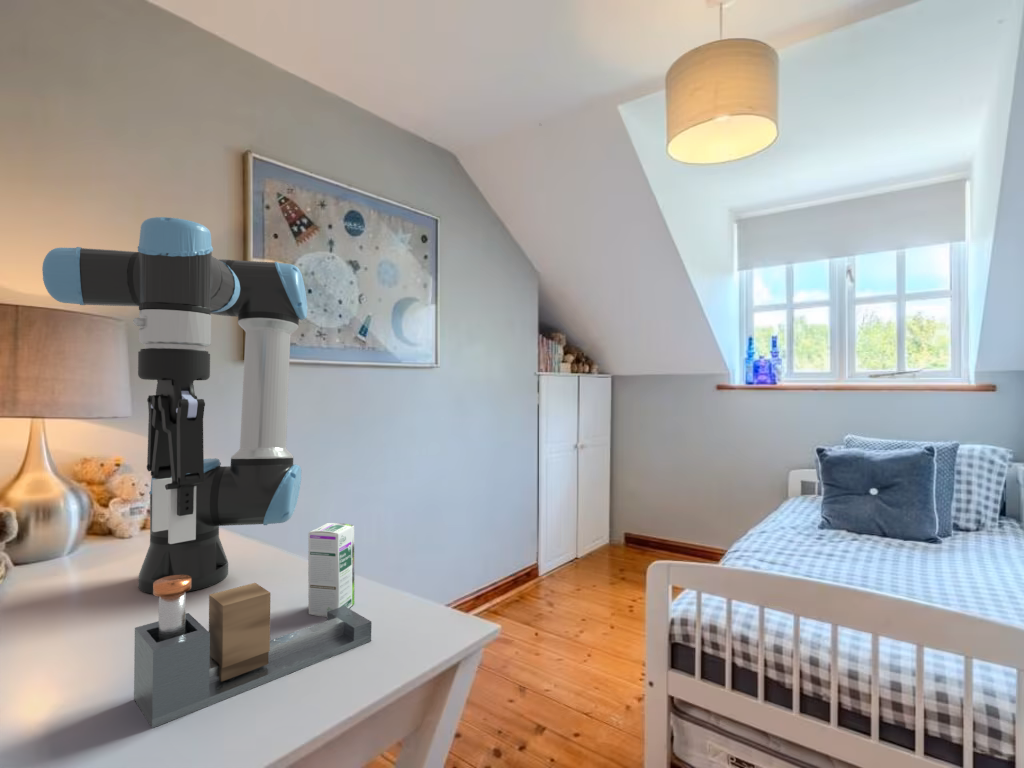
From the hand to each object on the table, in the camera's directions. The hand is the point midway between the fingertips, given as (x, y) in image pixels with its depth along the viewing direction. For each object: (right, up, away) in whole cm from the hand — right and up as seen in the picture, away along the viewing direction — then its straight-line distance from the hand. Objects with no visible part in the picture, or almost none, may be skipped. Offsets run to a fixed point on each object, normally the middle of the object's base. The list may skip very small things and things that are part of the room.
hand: (173, 534), depth 67 cm
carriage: (+5, -20, +6) cm, 21 cm away
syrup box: (+10, -21, +27) cm, 36 cm away
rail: (+7, -21, +9) cm, 24 cm away
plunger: (0, -16, 0) cm, 16 cm away
